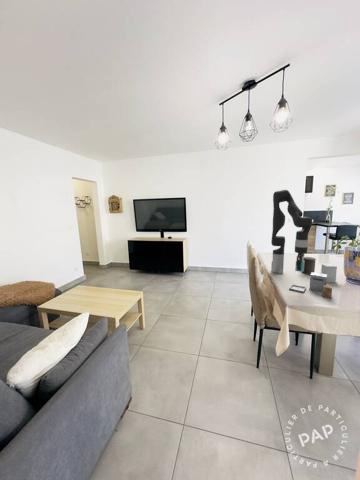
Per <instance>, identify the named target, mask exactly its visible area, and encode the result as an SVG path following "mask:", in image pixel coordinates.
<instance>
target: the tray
mask: <svg viewBox="0 0 360 480" xmlns="http://www.w3.org/2000/svg"><path fill="white" fill-rule="evenodd" d="M288 290H289V291H293V292H298V293H302V294H304V293H305V291H306V290H307V286H302V285H297V284H291V285H290V286H289V287H288Z"/></svg>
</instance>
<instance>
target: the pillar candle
mask: <svg viewBox="0 0 360 480" xmlns="http://www.w3.org/2000/svg"><path fill="white" fill-rule="evenodd" d="M315 271H316V258H315V257H310V256H304V271H303V272H301V273H302V274H304V275H311V273H312V272H314V273H316V272H315Z"/></svg>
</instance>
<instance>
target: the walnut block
mask: <svg viewBox="0 0 360 480" xmlns="http://www.w3.org/2000/svg"><path fill="white" fill-rule="evenodd" d="M332 293H333V286H332V285H328V284H326V285H324V286H323V292H322V298H325V299H330V300H331V299H332V296H333V294H332Z"/></svg>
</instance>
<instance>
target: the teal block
mask: <svg viewBox="0 0 360 480" xmlns="http://www.w3.org/2000/svg"><path fill="white" fill-rule="evenodd" d="M298 263H300V262H298ZM294 269H295V270H294V271H295V272H300V273H302V272H303V271H304V261H303V262H302V265H301V271H298V270H297V260H296V261H295V268H294Z"/></svg>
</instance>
